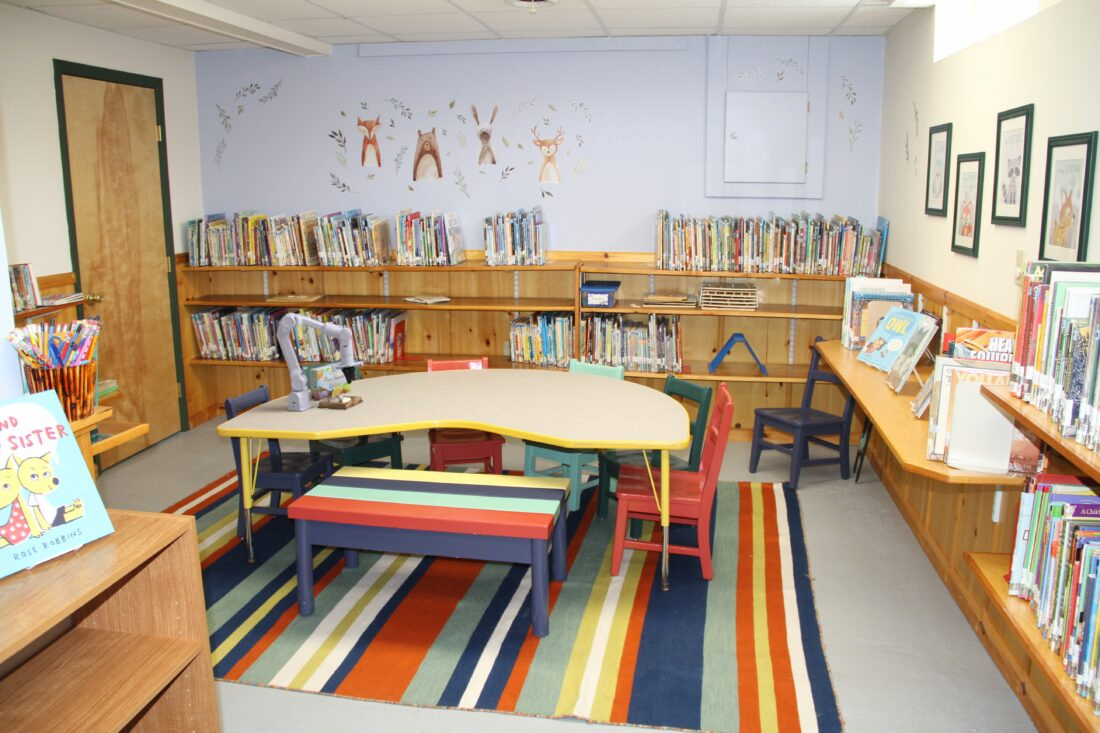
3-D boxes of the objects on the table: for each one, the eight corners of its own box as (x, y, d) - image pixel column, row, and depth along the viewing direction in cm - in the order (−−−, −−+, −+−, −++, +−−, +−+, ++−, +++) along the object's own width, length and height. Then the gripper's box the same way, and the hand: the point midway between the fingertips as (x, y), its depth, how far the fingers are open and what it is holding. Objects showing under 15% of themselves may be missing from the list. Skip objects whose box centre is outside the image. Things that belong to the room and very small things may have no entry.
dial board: (345, 409, 397) (345, 403, 397) (317, 408, 402) (317, 402, 402) (363, 401, 411) (362, 396, 411) (335, 400, 416) (335, 394, 415)
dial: (328, 400, 410) (327, 392, 409) (350, 398, 412) (349, 389, 412) (330, 405, 400) (329, 396, 399) (352, 403, 403) (351, 394, 402)
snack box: (319, 401, 416) (316, 370, 413) (311, 399, 419) (308, 369, 416) (352, 391, 433) (349, 361, 430) (344, 390, 436) (341, 361, 433)
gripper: (334, 357, 394) (337, 387, 397) (365, 353, 402) (367, 382, 404) (329, 355, 400) (331, 384, 402) (359, 351, 407) (361, 379, 410)
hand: (349, 383), depth 404 cm, fingers closed
